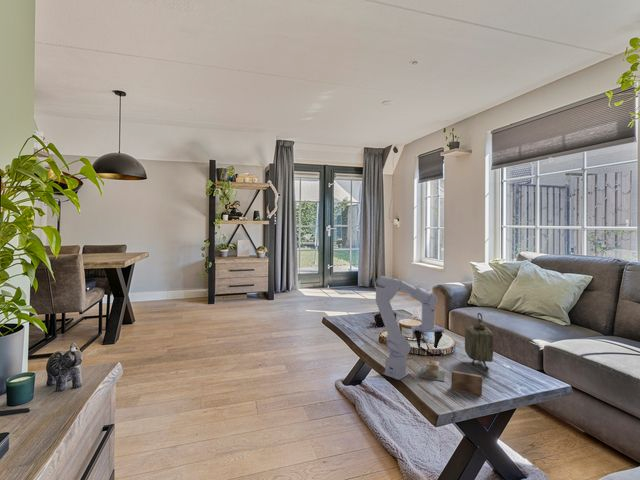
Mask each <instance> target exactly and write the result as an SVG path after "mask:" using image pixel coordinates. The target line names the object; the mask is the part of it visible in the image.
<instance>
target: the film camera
mask: <svg viewBox="0 0 640 480" xmlns="http://www.w3.org/2000/svg"><path fill="white" fill-rule="evenodd" d="M393 313H394V315H395V318H396V319H397V313H395V312H393ZM373 318H374V319H373V320H374V321H375V327H376V326H377V328H383V327H382V326H385V325H384V322H383V319H382V317H381V314H380V312H378V313H376V314H375V315H374V316H373Z"/></svg>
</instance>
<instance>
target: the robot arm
mask: <svg viewBox="0 0 640 480" xmlns="http://www.w3.org/2000/svg"><path fill="white" fill-rule="evenodd" d="M374 288H375V303H376V306H377V308H378V311H379V313H380V314H381V317H382V319H383V322H384V325H385V327H384V328H385V331H386V332H387V334H386V336H385V339H386V348H387V349H388V352H389V355H388V357H387V358H386V360H385V364H384V365H385V367H384V369H385V370H384V372H383V375H385V376H387V377H390V378H393V379H395V380H398V381H400V380H402V379H404V378H405V377H407V376H408V375H409V374H411V372H410V371H407V357H408V355H409V354H410V351H411V349H412V348H411V344H410V343H409V342H408V341H407V338H406V337H405V336H404V334H402V332H401V329H400V327H399V324H398V322H397V321H398V320H397V317H396V318H395V315H394V313H395V312H394V310H393V307H392V305H391V300H393V299H394V297H395V296H396V295H397V294H398V292H399V291H403V292H405V293H408V294H409V296H410V297H411V298H412V299H414V300H416V301H419V302H420V303H421V325H415V326H411V330H410V331H411V332H413V334H414V336H415V339H416V343H417V348H421V337H422V336H421V335H422V334H421V332H422V333H433V335H434V342H433V343H434V347H435V348H437V346H438V345H439V343H440V341H441V339H442V337H443V334H445V328H444V327H441V326H440V327H439V326H435V318H436V309H437V305H438V303H439V299H438V296H437V294H435V293H434V292H430V291H429V290H428V289H425V288H423V287H422V286H421V285H415V286H412V285H410V284H408V283H407V282H405V281H403V280H402V279H397V278H396V277H395V278H393V277H389V276H385V275H379V276H378V277H377V278H376V280H375V282H374Z"/></svg>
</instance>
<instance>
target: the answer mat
mask: <svg viewBox="0 0 640 480" xmlns="http://www.w3.org/2000/svg"><path fill="white" fill-rule="evenodd" d="M445 377H446V371H443V370H439V375H438V377H433V376H428V375H426V367H421V369H420V373H419V378H421V379H427V380H431V381H437V382H441V383H445Z"/></svg>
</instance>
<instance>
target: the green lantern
mask: <svg viewBox="0 0 640 480" xmlns="http://www.w3.org/2000/svg"><path fill="white" fill-rule="evenodd" d="M479 315H480V317H479ZM477 321H478V322H475V323H474V325H469V326H466V327H465V330H464V352H465V353H466V355H467V356H468V358H470V359H471V362H470V363H471V365H473V366H474V365H476V364H475V361H476V362H477V361H478V362H482V364H483V365H484V366H485V368H484V369H485V371H489V369H490V367H489V366H487V363H486V362H488V363H492V362H493V358H494V334H493V332H492V330H490V328H488V327H487V326H486V325H485V324H484V323H483V315H482V313H480V312H478V313H477Z"/></svg>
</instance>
